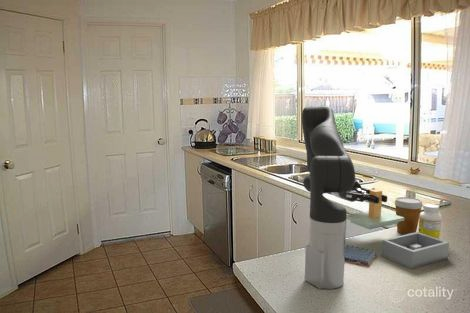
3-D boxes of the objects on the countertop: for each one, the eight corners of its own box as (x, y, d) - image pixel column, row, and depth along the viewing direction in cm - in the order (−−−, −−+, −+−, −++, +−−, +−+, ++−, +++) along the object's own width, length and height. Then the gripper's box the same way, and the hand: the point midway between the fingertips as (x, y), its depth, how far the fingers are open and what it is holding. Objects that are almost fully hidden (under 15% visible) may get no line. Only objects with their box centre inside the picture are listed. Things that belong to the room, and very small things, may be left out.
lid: (369, 231, 124) (371, 196, 122) (344, 221, 133) (346, 189, 132) (404, 223, 131) (406, 191, 130) (378, 215, 141) (380, 185, 139)
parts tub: (412, 268, 111) (413, 252, 110) (381, 255, 120) (382, 239, 119) (447, 258, 118) (449, 242, 117) (416, 246, 128) (417, 231, 127)
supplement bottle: (420, 237, 136) (423, 202, 134) (441, 242, 132) (444, 205, 130) (415, 243, 131) (417, 206, 129) (437, 247, 127) (440, 209, 125)
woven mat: (333, 261, 117) (333, 254, 117) (344, 250, 126) (345, 244, 126) (368, 269, 111) (369, 262, 111) (378, 257, 120) (378, 250, 120)
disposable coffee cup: (424, 231, 142) (426, 199, 141) (415, 238, 136) (417, 204, 134) (398, 226, 149) (400, 195, 147) (388, 232, 142) (390, 200, 140)
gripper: (330, 180, 140) (367, 191, 125) (359, 177, 146) (398, 186, 131) (330, 201, 141) (366, 213, 126) (358, 196, 147) (396, 208, 132)
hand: (382, 199), depth 129 cm, fingers closed on lid, 3 cm apart
